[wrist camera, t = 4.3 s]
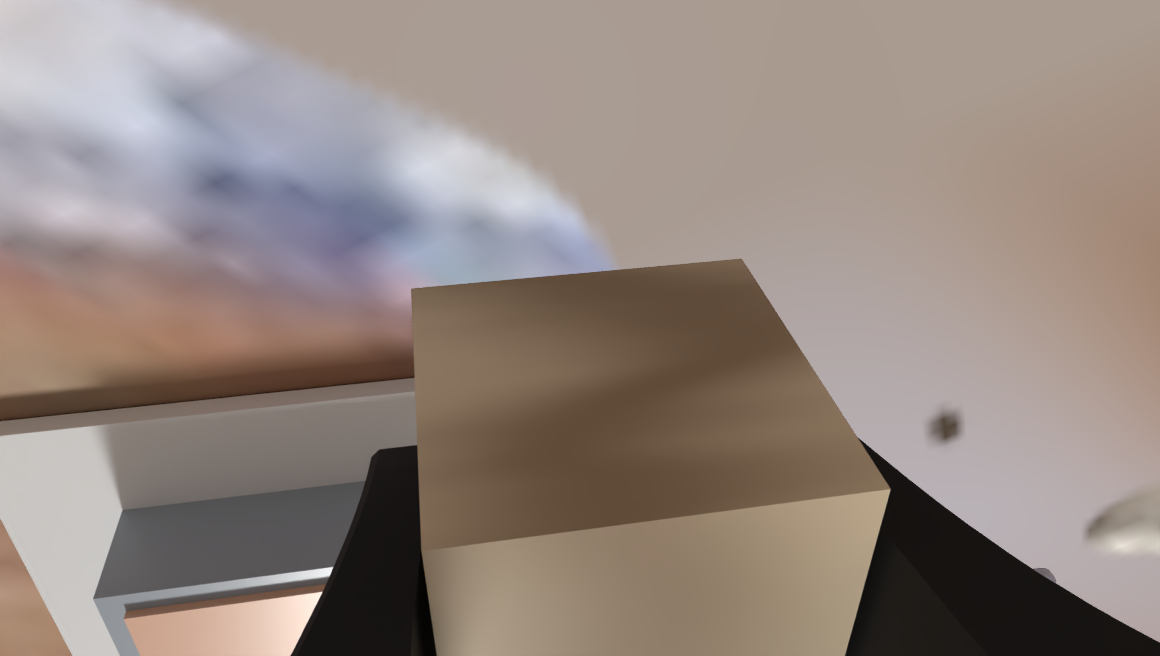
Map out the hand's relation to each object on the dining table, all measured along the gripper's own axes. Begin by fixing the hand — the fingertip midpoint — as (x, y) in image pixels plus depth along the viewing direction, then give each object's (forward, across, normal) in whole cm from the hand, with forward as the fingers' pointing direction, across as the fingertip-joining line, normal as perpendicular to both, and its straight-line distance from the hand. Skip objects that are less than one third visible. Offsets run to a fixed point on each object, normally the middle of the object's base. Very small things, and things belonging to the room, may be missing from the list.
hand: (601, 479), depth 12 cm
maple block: (+2, 0, 0) cm, 2 cm away
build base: (+8, +5, +10) cm, 14 cm away
